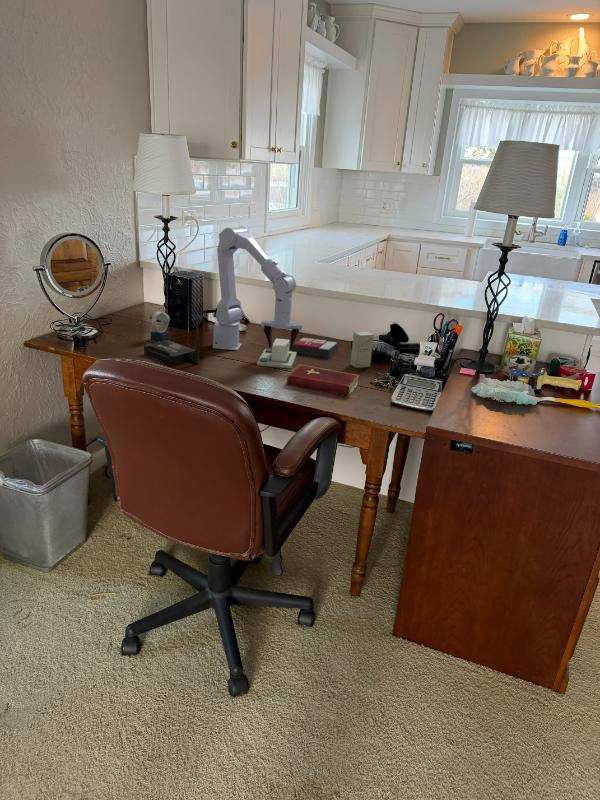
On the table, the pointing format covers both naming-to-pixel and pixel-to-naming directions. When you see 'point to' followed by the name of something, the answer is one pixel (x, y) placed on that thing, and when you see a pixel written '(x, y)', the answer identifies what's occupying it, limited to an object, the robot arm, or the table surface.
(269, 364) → the pcb board
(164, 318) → the watch
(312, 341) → the calculator
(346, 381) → the hardcover book
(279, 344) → the block
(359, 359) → the skincare box
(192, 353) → the grey and black stand
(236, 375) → the table surface
